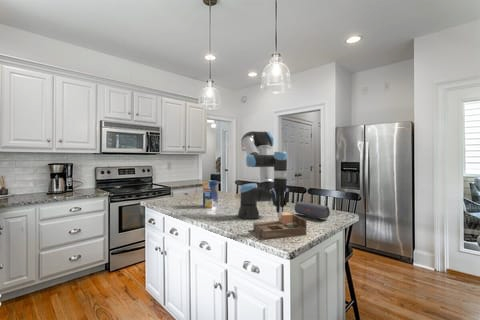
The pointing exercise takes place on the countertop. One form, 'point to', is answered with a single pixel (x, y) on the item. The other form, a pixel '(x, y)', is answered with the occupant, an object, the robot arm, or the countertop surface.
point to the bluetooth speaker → (312, 210)
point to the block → (286, 218)
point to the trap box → (281, 228)
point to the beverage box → (210, 193)
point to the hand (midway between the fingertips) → (279, 217)
